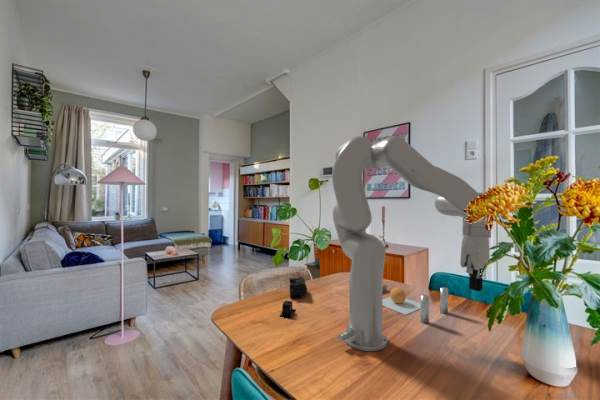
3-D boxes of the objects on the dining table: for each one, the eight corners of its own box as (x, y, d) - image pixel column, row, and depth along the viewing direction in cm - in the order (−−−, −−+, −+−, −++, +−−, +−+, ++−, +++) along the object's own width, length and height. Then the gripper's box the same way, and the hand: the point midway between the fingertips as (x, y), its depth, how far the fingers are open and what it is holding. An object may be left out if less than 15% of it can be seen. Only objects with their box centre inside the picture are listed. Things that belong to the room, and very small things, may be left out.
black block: (293, 323, 93) (293, 310, 93) (272, 322, 94) (272, 308, 94) (300, 309, 105) (300, 297, 105) (281, 307, 106) (281, 295, 106)
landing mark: (405, 315, 98) (405, 314, 98) (374, 302, 110) (374, 302, 110) (426, 306, 106) (426, 305, 106) (395, 295, 118) (395, 294, 118)
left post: (426, 324, 91) (426, 297, 91) (419, 321, 93) (419, 295, 93) (430, 322, 93) (430, 296, 92) (423, 319, 95) (423, 294, 94)
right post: (445, 314, 99) (446, 290, 98) (438, 312, 101) (438, 288, 101) (449, 312, 100) (449, 288, 100) (442, 310, 102) (442, 286, 102)
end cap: (307, 299, 114) (307, 283, 113) (290, 299, 113) (290, 283, 113) (305, 290, 123) (305, 276, 123) (289, 291, 123) (289, 276, 123)
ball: (384, 292, 111) (392, 307, 109) (394, 288, 107) (402, 303, 104) (393, 288, 114) (401, 302, 112) (403, 284, 110) (411, 298, 108)
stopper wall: (359, 299, 113) (359, 293, 113) (356, 297, 115) (356, 291, 115) (386, 290, 124) (386, 285, 124) (383, 289, 125) (383, 283, 125)
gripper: (473, 229, 93) (473, 282, 93) (452, 232, 84) (451, 291, 85) (499, 231, 87) (498, 288, 87) (479, 235, 78) (478, 298, 78)
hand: (475, 289), depth 86 cm, fingers closed
